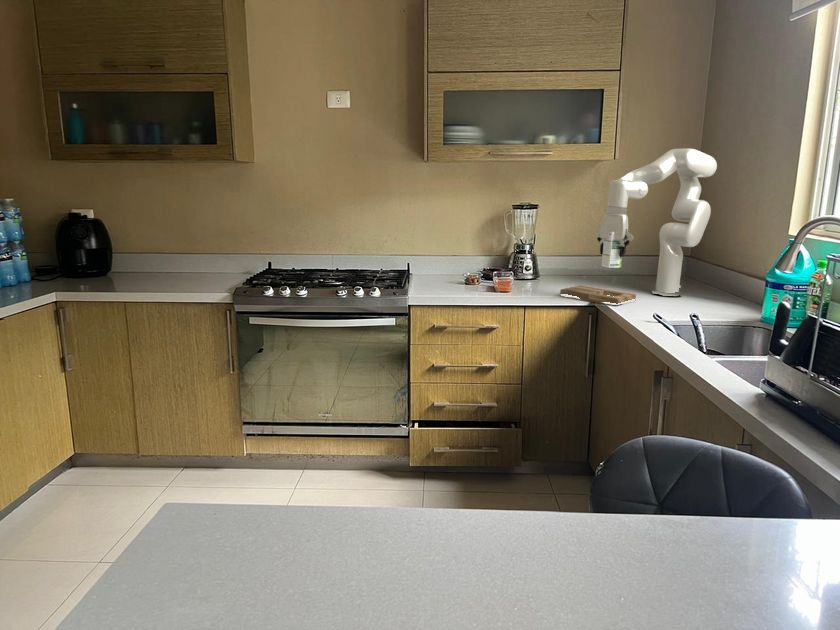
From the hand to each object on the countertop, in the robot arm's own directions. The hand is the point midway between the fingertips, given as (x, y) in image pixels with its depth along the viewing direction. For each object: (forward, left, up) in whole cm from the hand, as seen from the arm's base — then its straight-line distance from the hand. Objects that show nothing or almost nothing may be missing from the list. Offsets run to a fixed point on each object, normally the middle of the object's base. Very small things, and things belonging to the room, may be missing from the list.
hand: (612, 254), depth 250 cm
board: (0, -5, -19) cm, 20 cm away
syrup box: (0, 0, -5) cm, 5 cm away
